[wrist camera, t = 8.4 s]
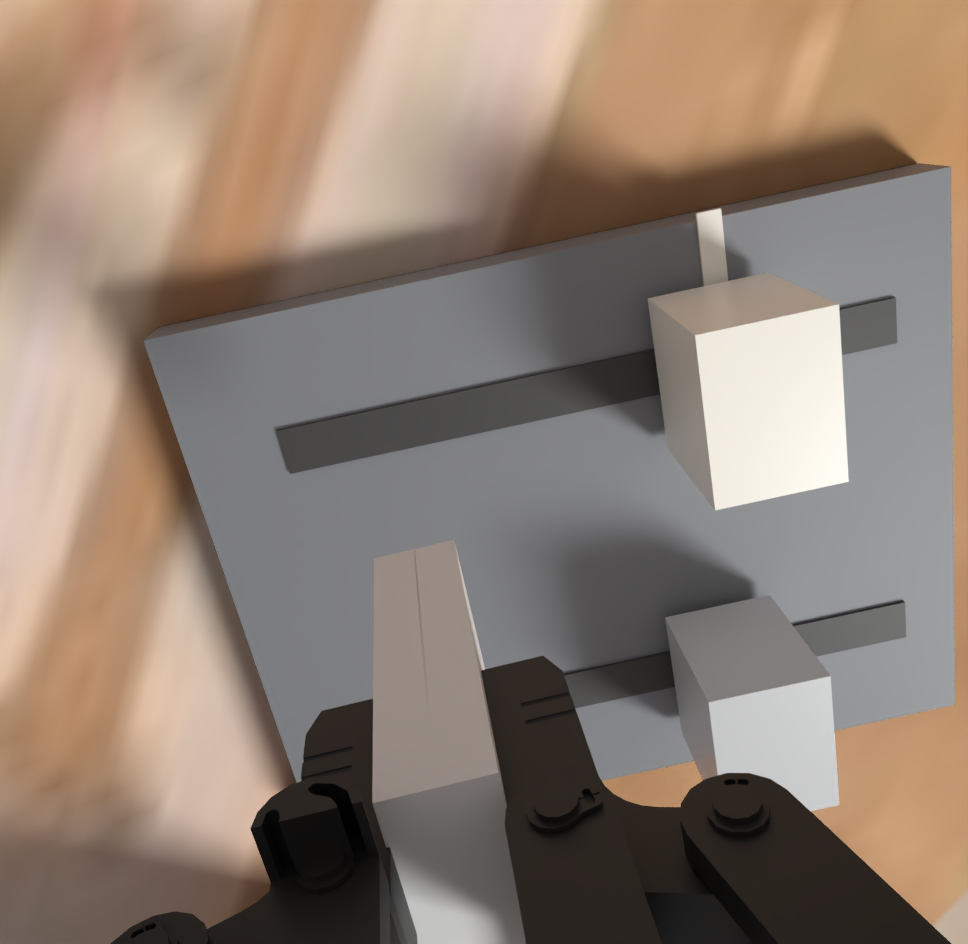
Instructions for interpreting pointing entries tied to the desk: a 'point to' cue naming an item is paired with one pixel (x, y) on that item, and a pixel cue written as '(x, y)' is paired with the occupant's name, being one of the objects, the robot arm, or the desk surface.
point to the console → (582, 462)
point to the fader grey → (755, 698)
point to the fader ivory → (751, 388)
